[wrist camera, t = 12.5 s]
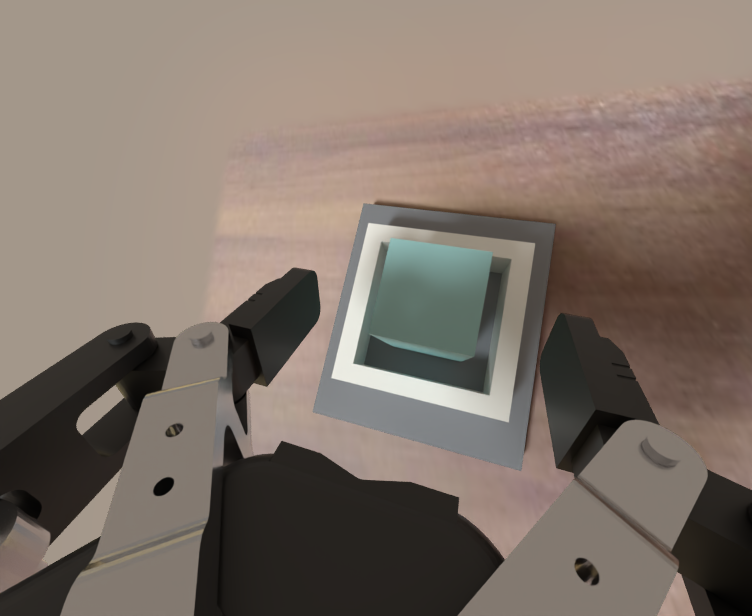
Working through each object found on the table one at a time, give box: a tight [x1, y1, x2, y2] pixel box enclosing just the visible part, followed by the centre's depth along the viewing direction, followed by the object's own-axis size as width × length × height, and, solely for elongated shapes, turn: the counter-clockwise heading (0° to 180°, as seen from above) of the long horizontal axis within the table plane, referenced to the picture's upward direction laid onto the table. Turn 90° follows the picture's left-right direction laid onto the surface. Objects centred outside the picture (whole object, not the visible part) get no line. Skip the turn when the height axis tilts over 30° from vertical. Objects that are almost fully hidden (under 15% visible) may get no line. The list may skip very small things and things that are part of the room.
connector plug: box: [368, 238, 493, 362], centre depth 15 cm, size 4×4×7 cm
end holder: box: [313, 204, 556, 471], centre depth 18 cm, size 12×14×4 cm
